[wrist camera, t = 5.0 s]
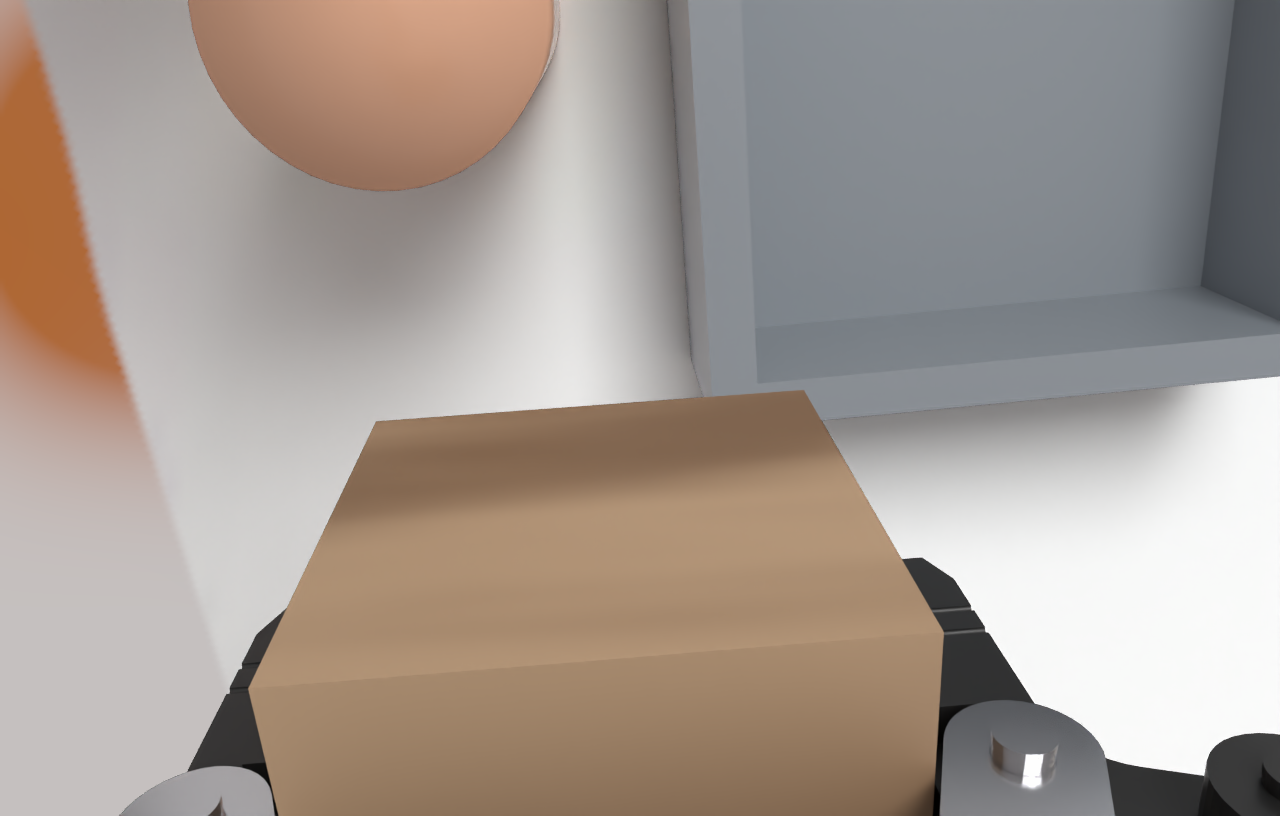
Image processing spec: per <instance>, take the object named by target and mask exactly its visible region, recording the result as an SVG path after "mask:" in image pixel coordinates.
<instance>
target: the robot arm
mask: <svg viewBox="0 0 1280 816" xmlns="http://www.w3.org/2000/svg"><path fill="white" fill-rule="evenodd" d="M902 561H903V562H904V564H905V566H906V568H907V569H908V571H909V573H910V574H911V576H912V578H913V580H914V581H915V583H916V585H917V587H918V588H919V590H920V592H921V593H922V595H923V597H924V599H925V600H926V602H927V604H928V606H929V607H930V609H931V611H932V613H933V614H934V616H935V618H936V619H937V621H938V623H939V625H940V626H941V628H942V630H943V632H944V638H943V654H942V670H941V687H940V703H939V720H938V736H937V752H936V769H935V785H934V802H933V816H1280V735H1278V734H1266V733H1254V734H1243V735H1238V736H1234V737H1231V738H1228V739H1226V740H1223V741H1222V742H1221V743H1219V744H1218V745H1216V746H1215V747H1214V748H1213V750H1212V751H1211V752H1210V754H1209V757H1208V759H1207V764H1206V769H1205V775H1204V776H1201V775H1194V774H1187V773H1180V772H1173V771H1166V770H1159V769H1152V768H1145V767H1138V766H1133V765H1128V764H1123V763H1120V762H1116V761H1113V760H1109V759H1107V758H1105V755H1104V751H1103V750H1102V748H1101V746H1100V744H1099V742H1098V741H1097V740H1096V739H1095V738H1094V736H1093V735H1092V734H1091V733H1090V732H1089V731H1088V730H1087V729H1085V728H1084V727H1083V726H1082V725H1081V724H1079V723H1078V722H1076V721H1075V720H1073V719H1072V718H1070V717H1068V716H1066V715H1064V714H1062V713H1060V712H1058V711H1055V710H1053V709H1050V708H1048V707H1044V706H1041V705H1037V704H1034V702H1033V701H1032V699H1031V698H1030V696H1029V694H1028V693H1027V691H1026V690H1025V688H1024V687H1023V685H1022V684H1021V682H1020V681H1019V679H1018V677H1017V676H1016V674H1015V673H1014V671H1013V670H1012V668H1011V667H1010V665H1009V664H1008V662H1007V660H1006V659H1005V657H1004V656H1003V654H1002V653H1001V651H1000V650H999V648H998V647H997V645H996V643H995V642H994V640H993V639H992V637H991V636H990V634H989V633H986V632H985V626H984V625H983V623H982V622H981V620H980V619H979V617H978V616H977V614H976V613H975V611H974V610H973V611H971V605H970V603H969V602H968V600H967V599H966V597H965V596H964V594H963V592H962V591H961V589H960V588H959V586H958V585H957V583H956V582H955V580H954V579H953V578H952V577H950V576H949V575H947V574H946V573H944V572H943V571H941V570H940V569H938V568H937V567H935V566H934V565H932V564H931V563H929V562H928V561H926V560H925V559H923V558H910V559H902ZM286 609H287V608H286ZM286 609H285V610H284V611H283V612H282V613H281V614H279V615H278V616H277V617H276V618H275V619H274V620H273V621H271V622H270V623H269V624H268V625H267V626H266V627H265V628H263V629H262V630H261V631H260V632H259V633H258V634H257V635H256V637H255V639H254V641H253V643H252V645H251V647H250V649H249V651H248V653H247V655H246V657H245V659H244V660H243V662H242V669H239V670H238V672H237V674H236V676H235V678H234V680H233V682H232V684H231V686H230V694H226V696H225V698H224V700H223V702H222V704H221V706H220V708H219V710H218V712H217V714H216V716H215V718H214V720H213V722H212V724H211V726H210V728H209V730H208V732H207V734H206V736H205V738H204V739H203V742H202V744H201V745H200V748H199V749H198V752H197V753H196V755H195V757H194V759H193V761H192V763H191V765H190V767H189V769H188V771H187V772H186V773H183V774H181V775H178V776H175V777H173V778H171V779H168V780H166V781H164V782H162V783H160V784H158V785H157V786H155V787H153V788H151V789H150V790H148V791H147V792H145V793H144V794H142V795H141V796H140V797H138V798H137V799H136V800H135V801H133V802H132V803H131V804H130V805H129V806H128V807H127V808H126V809H125V810H124V811H123V812H122V813H121V814H120V815H119V816H279V815H278V811H277V807H276V803H275V799H274V795H273V790H272V786H271V782H270V778H269V774H268V770H267V765H266V761H265V757H264V753H263V749H262V744H261V740H260V736H259V732H258V728H257V724H256V719H255V715H254V711H253V707H252V703H251V699H250V694H249V690H248V688H249V686H250V684H251V682H252V680H253V678H254V676H255V674H256V671H257V669H258V667H259V665H260V663H261V661H262V659H263V657H264V655H265V653H266V651H267V648H268V646H269V644H270V642H271V640H272V638H273V636H274V634H275V632H276V630H277V628H278V625H279V623H280V621H281V619H282V617H283V615H284V613H285V611H286Z"/></svg>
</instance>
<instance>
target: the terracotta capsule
mask: <svg viewBox="0 0 1280 816" xmlns="http://www.w3.org/2000/svg"><path fill="white" fill-rule="evenodd" d="M188 5H189V11H190V17H191V23H192V29H193V33H194V36H195V40H196V43H197V46H198V50H199V53H200V56H201V58H202V60H203V63H204V65H205V68H206V70H207V72H208V75H209V77H210V79H211V80H212V82H213V84H214V86H215V87H216V89H217V91H218V93H219V94H220V96H221V98H222V99H223V101H224V102H225V103H226V105H227V106H228V108H229V109H230V110H231V112H232V113H233V114H234V116H235V117H236V118H237V119H238V121H239V122H240V123H241V124H242V125H243V126H244V127H245V128H246V129H247V130H248V131H249V133H250V134H251V135H252V136H253V137H254V138H256V139H257V140H258V141H259V142H260V143H261V144H263V145H264V146H265V147H266V148H267V149H268V150H270V151H271V152H272V153H274V154H275V155H277V156H278V157H280V158H281V159H283V160H284V161H286V162H287V163H288V164H290V165H292V166H294V167H296V168H298V169H299V170H301V171H303V172H305V173H307V174H309V175H311V176H314V177H316V178H319V179H322V180H325V181H327V182H330V183H333V184H337V185H341V186H345V187H349V188H354V189H362V190H371V191H399V190H406V189H412V188H418V187H423V186H426V185H429V184H433V183H436V182H439V181H442V180H444V179H446V178H449V177H451V176H453V175H455V174H457V173H460V172H461V171H463V170H465V169H466V168H468V167H469V166H471V165H472V164H474V163H476V162H477V161H479V160H480V159H481V158H482V157H483V156H485V155H486V154H487V153H488V152H489V151H491V150H492V149H493V148H494V147H495V146H496V145H497V144H498V143H499V142H500V141H501V140H502V138H503V137H504V136H505V135H506V134H507V133H508V132H509V131H510V129H511V128H512V126H513V125H514V123H515V122H516V120H517V119H518V117H519V116H520V115H521V113H522V112H523V110H524V108H525V106H526V105H527V103H528V101H529V100H530V98H531V96H532V94H533V93H534V91H535V89H536V87H537V86H538V84H539V82H540V81H541V79H542V77H543V75H544V74H545V72H546V70H547V68H548V66H549V64H550V62H551V59H552V57H553V54H554V51H555V48H556V44H557V39H558V34H559V25H560V2H559V0H188Z"/></svg>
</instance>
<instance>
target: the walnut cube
mask: <svg viewBox="0 0 1280 816" xmlns="http://www.w3.org/2000/svg"><path fill="white" fill-rule="evenodd" d="M943 638H944V632H943V630H942V628H941V626H940V625H939V623H938V621H937V619H936V618H935V616H934V614H933V613H932V611H931V609H930V607H929V606H928V604H927V602H926V600H925V599H924V597H923V595H922V593H921V592H920V590H919V588H918V587H917V585H916V583H915V581H914V580H913V578H912V576H911V574H910V573H909V571H908V569H907V568H906V566H905V564H904V562H903V561H902V559H901V557H900V555H899V554H898V552H897V550H896V549H895V547H894V545H893V543H892V542H891V540H890V538H889V536H888V535H887V533H886V531H885V529H884V528H883V526H882V524H881V523H880V521H879V519H878V517H877V516H876V514H875V512H874V510H873V509H872V507H871V505H870V504H869V502H868V500H867V498H866V497H865V495H864V493H863V491H862V490H861V488H860V486H859V484H858V483H857V481H856V479H855V478H854V476H853V474H852V472H851V471H850V469H849V467H848V465H847V464H846V462H845V460H844V459H843V457H842V455H841V453H840V452H839V450H838V448H837V446H836V445H835V443H834V441H833V440H832V438H831V436H830V434H829V433H828V431H827V429H826V427H825V426H824V424H823V422H822V420H821V419H820V417H819V415H818V414H817V412H816V410H815V408H814V407H813V405H812V403H811V401H810V400H809V398H808V396H807V395H806V393H805V391H804V390H795V391H782V392H768V393H755V394H741V395H728V396H714V397H701V398H687V399H674V400H660V401H647V402H633V403H620V404H606V405H592V406H579V407H565V408H552V409H538V410H525V411H511V412H498V413H484V414H471V415H457V416H444V417H430V418H417V419H403V420H390V421H376V423H375V425H374V427H373V429H372V431H371V433H370V435H369V437H368V440H367V442H366V444H365V446H364V448H363V450H362V452H361V454H360V456H359V458H358V460H357V463H356V465H355V467H354V469H353V471H352V473H351V475H350V477H349V479H348V481H347V483H346V485H345V488H344V490H343V492H342V494H341V496H340V498H339V500H338V502H337V504H336V506H335V508H334V511H333V513H332V515H331V517H330V519H329V521H328V523H327V525H326V527H325V529H324V531H323V534H322V536H321V538H320V540H319V542H318V544H317V546H316V548H315V550H314V552H313V554H312V557H311V559H310V561H309V563H308V565H307V567H306V569H305V571H304V573H303V575H302V577H301V579H300V582H299V584H298V586H297V588H296V590H295V592H294V594H293V596H292V598H291V600H290V602H289V605H288V607H287V609H286V611H285V613H284V615H283V617H282V619H281V621H280V623H279V625H278V628H277V630H276V632H275V634H274V636H273V638H272V640H271V642H270V644H269V646H268V648H267V651H266V653H265V655H264V657H263V659H262V661H261V663H260V665H259V667H258V669H257V671H256V674H255V676H254V678H253V680H252V682H251V684H250V686H249V688H248V690H249V694H250V699H251V703H252V707H253V711H254V715H255V719H256V724H257V728H258V732H259V736H260V740H261V744H262V749H263V753H264V757H265V761H266V765H267V770H268V774H269V778H270V782H271V786H272V790H273V795H274V799H275V803H276V807H277V811H278V815H279V816H933V802H934V785H935V769H936V752H937V736H938V720H939V703H940V687H941V670H942V654H943Z"/></svg>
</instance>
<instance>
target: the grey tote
mask: <svg viewBox="0 0 1280 816" xmlns="http://www.w3.org/2000/svg"><path fill="white" fill-rule="evenodd" d="M667 6H668V21H669V36H670V51H671V66H672V81H673V96H674V111H675V126H676V141H677V155H678V170H679V185H680V200H681V215H682V230H683V245H684V260H685V275H686V290H687V304H688V319H689V334H690V349H691V360H692V363H693V366H694V369H695V373H696V376H697V379H698V382H699V385H700V388H701V392H702V395H703V397H714V396H728V395H741V394H755V393H768V392H782V391H795V390H804V391H805V393H806V395H807V396H808V398H809V400H810V401H811V403H812V405H813V407H814V408H815V410H816V412H817V414H818V415H819V417H820V419H821V420H832V419H842V418H852V417H863V416H873V415H884V414H894V413H904V412H915V411H925V410H935V409H946V408H956V407H967V406H977V405H987V404H998V403H1008V402H1018V401H1029V400H1039V399H1050V398H1060V397H1070V396H1081V395H1091V394H1101V393H1112V392H1122V391H1132V390H1143V389H1153V388H1164V387H1174V386H1184V385H1195V384H1205V383H1215V382H1226V381H1236V380H1247V379H1257V378H1267V377H1278V376H1280V0H667Z"/></svg>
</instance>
